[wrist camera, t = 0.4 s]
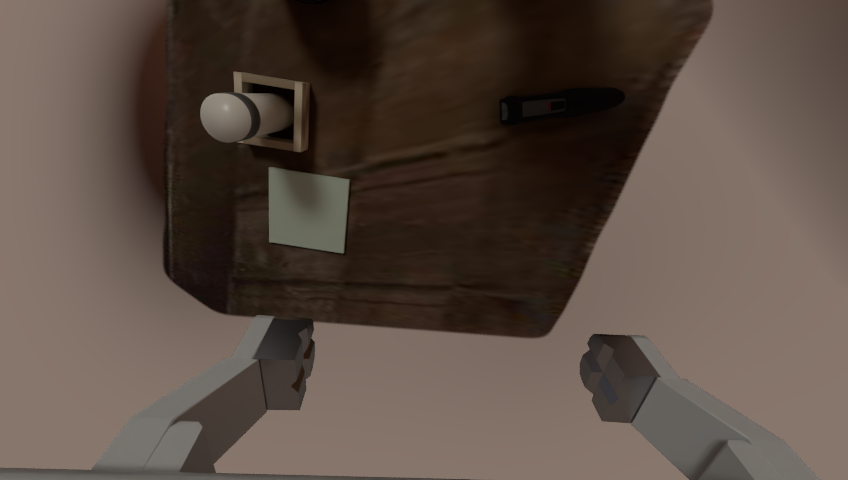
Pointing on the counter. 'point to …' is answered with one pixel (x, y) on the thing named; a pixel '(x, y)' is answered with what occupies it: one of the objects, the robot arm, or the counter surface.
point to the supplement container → (311, 1)
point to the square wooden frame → (301, 110)
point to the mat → (308, 210)
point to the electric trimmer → (558, 104)
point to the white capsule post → (245, 115)
